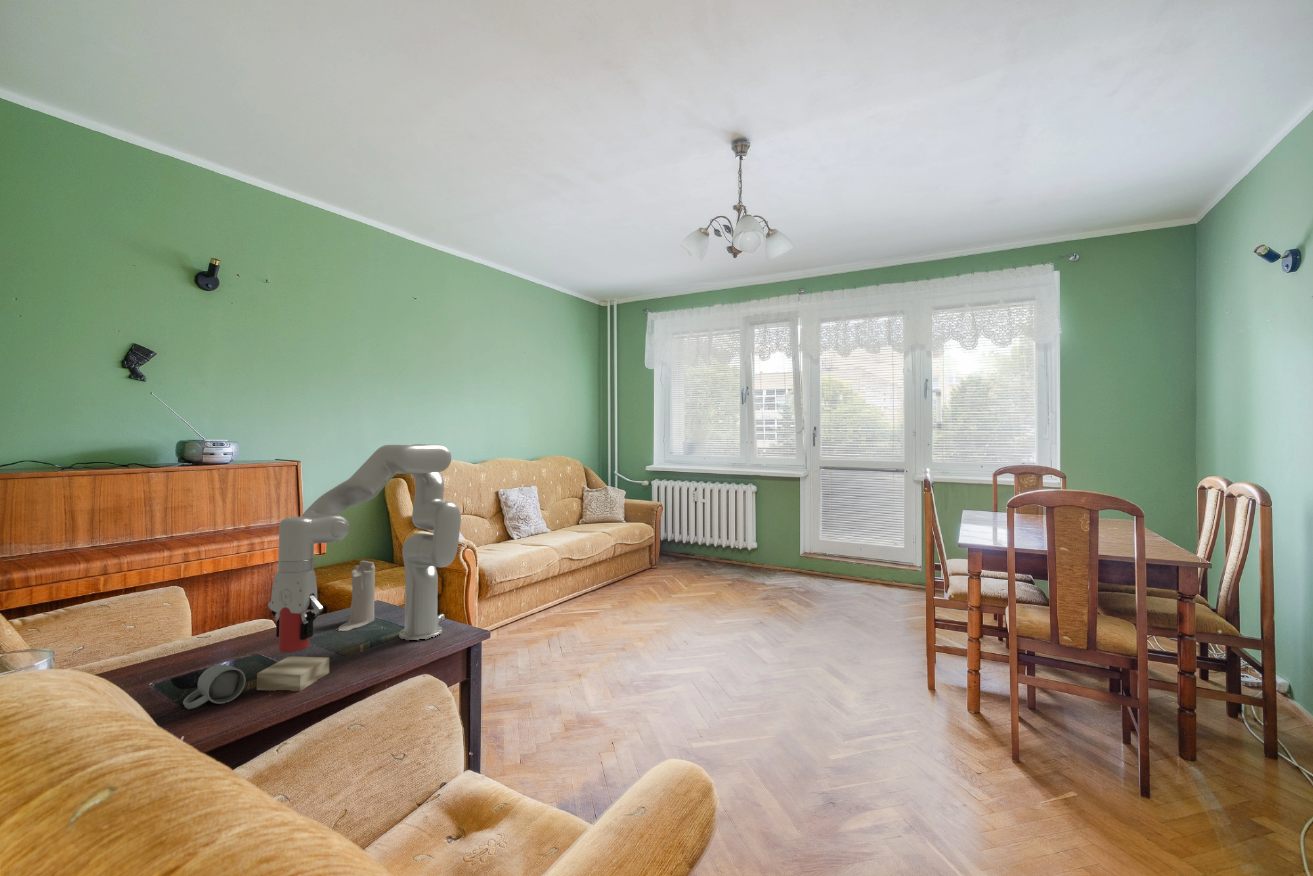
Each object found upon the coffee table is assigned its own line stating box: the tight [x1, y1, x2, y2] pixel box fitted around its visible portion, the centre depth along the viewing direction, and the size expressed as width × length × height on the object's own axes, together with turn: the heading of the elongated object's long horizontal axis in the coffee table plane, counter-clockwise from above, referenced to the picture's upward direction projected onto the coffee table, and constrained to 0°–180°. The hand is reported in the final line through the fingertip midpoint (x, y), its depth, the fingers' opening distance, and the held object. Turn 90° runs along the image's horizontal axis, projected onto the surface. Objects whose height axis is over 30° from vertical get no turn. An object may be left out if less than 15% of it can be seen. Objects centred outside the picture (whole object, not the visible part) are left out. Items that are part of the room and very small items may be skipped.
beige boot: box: [337, 560, 376, 632], centre depth 185 cm, size 7×14×20 cm, turn 170°
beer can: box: [278, 604, 311, 654], centre depth 141 cm, size 7×7×12 cm
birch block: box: [256, 655, 330, 692], centre depth 141 cm, size 11×11×4 cm
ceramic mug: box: [182, 664, 247, 710], centre depth 130 cm, size 11×8×8 cm
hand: (294, 636), depth 141 cm, fingers closed on beer can, 6 cm apart
